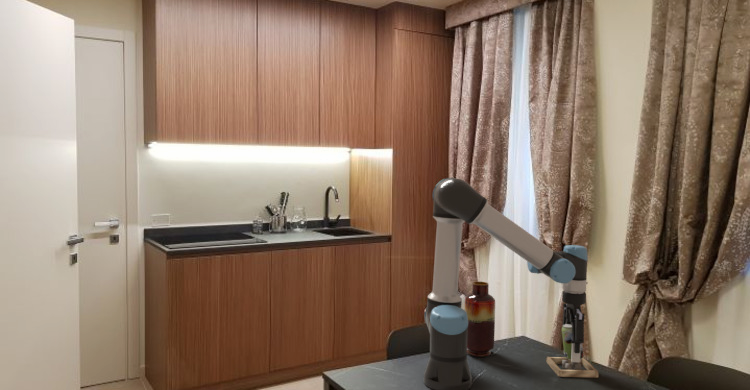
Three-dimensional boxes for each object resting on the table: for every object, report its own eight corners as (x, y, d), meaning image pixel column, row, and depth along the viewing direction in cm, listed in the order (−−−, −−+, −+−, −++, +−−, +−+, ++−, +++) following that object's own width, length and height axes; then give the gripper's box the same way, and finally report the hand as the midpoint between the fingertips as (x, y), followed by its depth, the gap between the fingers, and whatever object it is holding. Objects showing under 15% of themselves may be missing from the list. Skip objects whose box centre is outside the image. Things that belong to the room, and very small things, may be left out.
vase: (498, 351, 200) (500, 282, 199) (487, 360, 191) (489, 287, 189) (470, 346, 206) (472, 278, 205) (458, 354, 196) (460, 283, 195)
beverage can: (584, 363, 179) (586, 328, 178) (561, 361, 180) (563, 326, 180) (581, 357, 185) (582, 322, 184) (559, 355, 186) (560, 321, 186)
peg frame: (558, 376, 176) (558, 369, 176) (546, 362, 189) (546, 355, 189) (598, 377, 176) (598, 370, 176) (583, 363, 189) (583, 356, 189)
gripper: (596, 298, 172) (594, 368, 173) (575, 285, 191) (572, 348, 192) (573, 297, 172) (570, 368, 173) (553, 284, 191) (551, 348, 192)
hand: (571, 357), depth 183 cm, fingers closed on beverage can, 6 cm apart
